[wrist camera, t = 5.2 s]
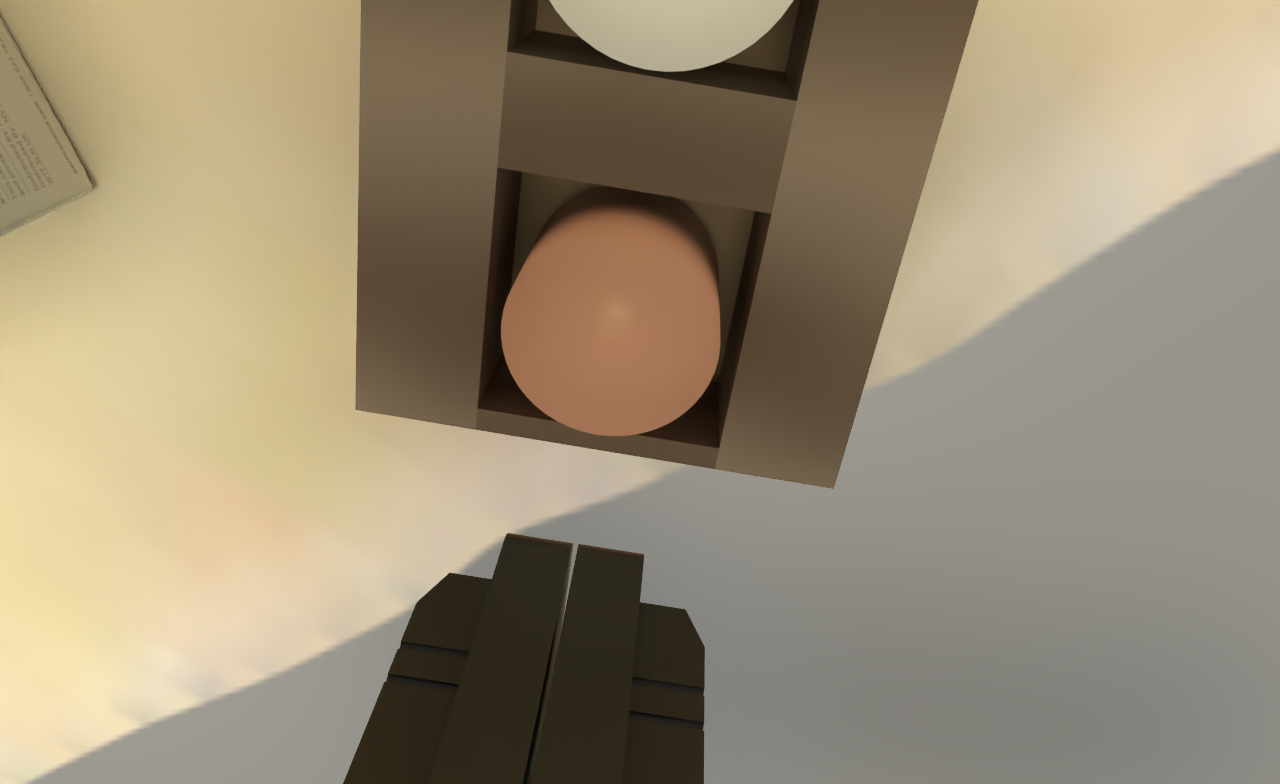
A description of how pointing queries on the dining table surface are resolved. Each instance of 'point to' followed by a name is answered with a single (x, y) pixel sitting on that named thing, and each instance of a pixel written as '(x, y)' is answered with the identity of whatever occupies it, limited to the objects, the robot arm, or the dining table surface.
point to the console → (658, 164)
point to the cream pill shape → (670, 29)
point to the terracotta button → (615, 313)
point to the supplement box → (31, 146)
